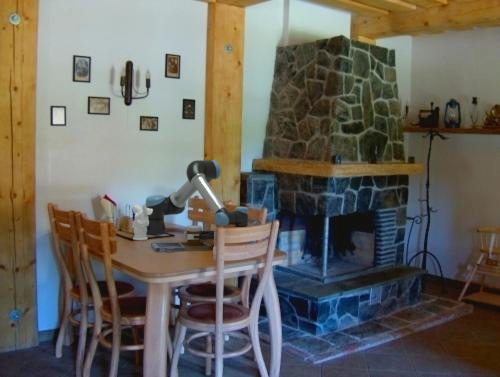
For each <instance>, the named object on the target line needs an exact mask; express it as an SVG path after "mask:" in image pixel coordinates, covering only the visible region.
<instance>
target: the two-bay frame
mask: <svg viewBox="0 0 500 377" xmlns="http://www.w3.org/2000/svg"><path fill="white" fill-rule="evenodd" d="M150 247H151V248H152V249H153V250H154V252H156V253H161V252H162V253H175V252H195V251H200V250H201V251H213V246H212V245H211V244H209V242H207V241H206V240H200V246H191V247H188V242H187V241H160V242H150Z"/></svg>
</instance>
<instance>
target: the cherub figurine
mask: <svg viewBox="0 0 500 377" xmlns="http://www.w3.org/2000/svg"><path fill="white" fill-rule="evenodd" d="M145 204H146V203H144V204H143V205H142V206H141V205H140V204H134V205H133V206H132V208H131V210H132V212H133V214H134V221H133V222H132V226H131V228H132V229H133V233H134V235H133V237H132V240H134V241H147V240H148V236H147V234H146V232H147V227H146V226H148V225H149V220H148V215H151V214H152V212H153V210H152V209H149V208H147V207H146V205H145Z"/></svg>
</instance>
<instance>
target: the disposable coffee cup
mask: <svg viewBox="0 0 500 377" xmlns="http://www.w3.org/2000/svg"><path fill="white" fill-rule="evenodd" d="M185 230H186V231H185V232H187V234H199V236H200V233H202V231H204V230H203V226H201V225H195V224H194V225H193V224H191V225H186V226H185ZM186 240H187V239H186ZM200 241H201V240H200V239H191V240H187V241H186V242H188V246H187V247H191V246H201V245H200Z"/></svg>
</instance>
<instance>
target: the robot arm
mask: <svg viewBox="0 0 500 377" xmlns="http://www.w3.org/2000/svg"><path fill="white" fill-rule="evenodd" d="M185 171H186V177H187V181H185V183H184V184H183V185H182V186H181V187H180V188H178V190H177V191H173V192H172V193H170V194H169V196H164V195H162V194H161V195H160V194H158V195H157V194H155V195H150V196H148V197H146V198H145V203H144V204H145V205H146V207H147V208H149V209H152V210H153V212H152V214H151V215H148V220H149V225H148V226H146V227H147V232H146V235H163V234H166V233H167V227H166V223H165V216H171V215H179V214H182V213H183V212H185V210H186V206H187V201H188V200H189V199H190V198H191V197H192V196H193V195H194V194H195V193H196V192H197V191H198V193H199V195H200V196H201V198H202V199H203V200H204V201H205V203H206V205H207V206H208V207H209V210H211V212H212V213H213V215H214V218H213V220H214V223H215V225H217V226H218V227H226V226H233V225H234V228H235V227H246V226H248V225H249V208H248V207H246V206H236V207H235V208H234V210H232V211H231V210H228V208H227V207H226V206H225V205H224V204H225V203H223V201H222V200H221V199H220V197H219V196H218V195H217V193H216V191H215V190H214V189H213V188H212V186H211V185H210V184H209V183H210V182H211V181H212V180H217V179H219V178H220V177H221V167H220V164H219V162H218V161H216V160H214V159H213V160H212V159H209V160H208V159H207V160H199V159H198V160H196V159H195V160H192V161H191V162H190V163H189V164H188V165H187V167H186V170H185ZM248 227H249V226H248ZM214 232H215V230H202V233H200V236H199V234H187V232H186V231H184V232H183V237H184V238H185V237H186V240H191V239H200V241H207V240H210V241H211V240H215V239H214Z"/></svg>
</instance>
